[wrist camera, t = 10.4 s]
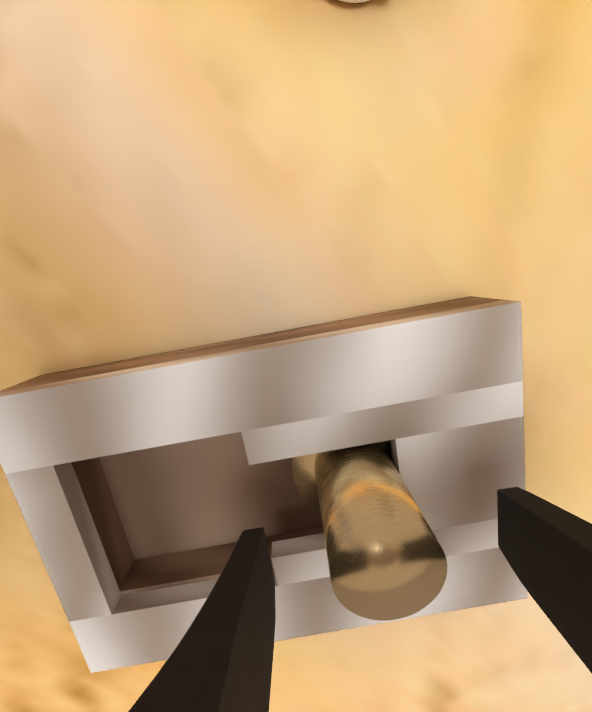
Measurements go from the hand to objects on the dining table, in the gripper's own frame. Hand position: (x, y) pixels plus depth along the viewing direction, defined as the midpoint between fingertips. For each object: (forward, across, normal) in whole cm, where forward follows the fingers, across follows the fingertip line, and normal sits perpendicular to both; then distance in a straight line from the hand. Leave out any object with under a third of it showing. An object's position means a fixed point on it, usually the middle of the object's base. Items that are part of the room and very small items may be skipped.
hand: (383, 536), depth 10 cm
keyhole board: (+5, +3, 0) cm, 6 cm away
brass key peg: (+4, 0, 0) cm, 4 cm away
